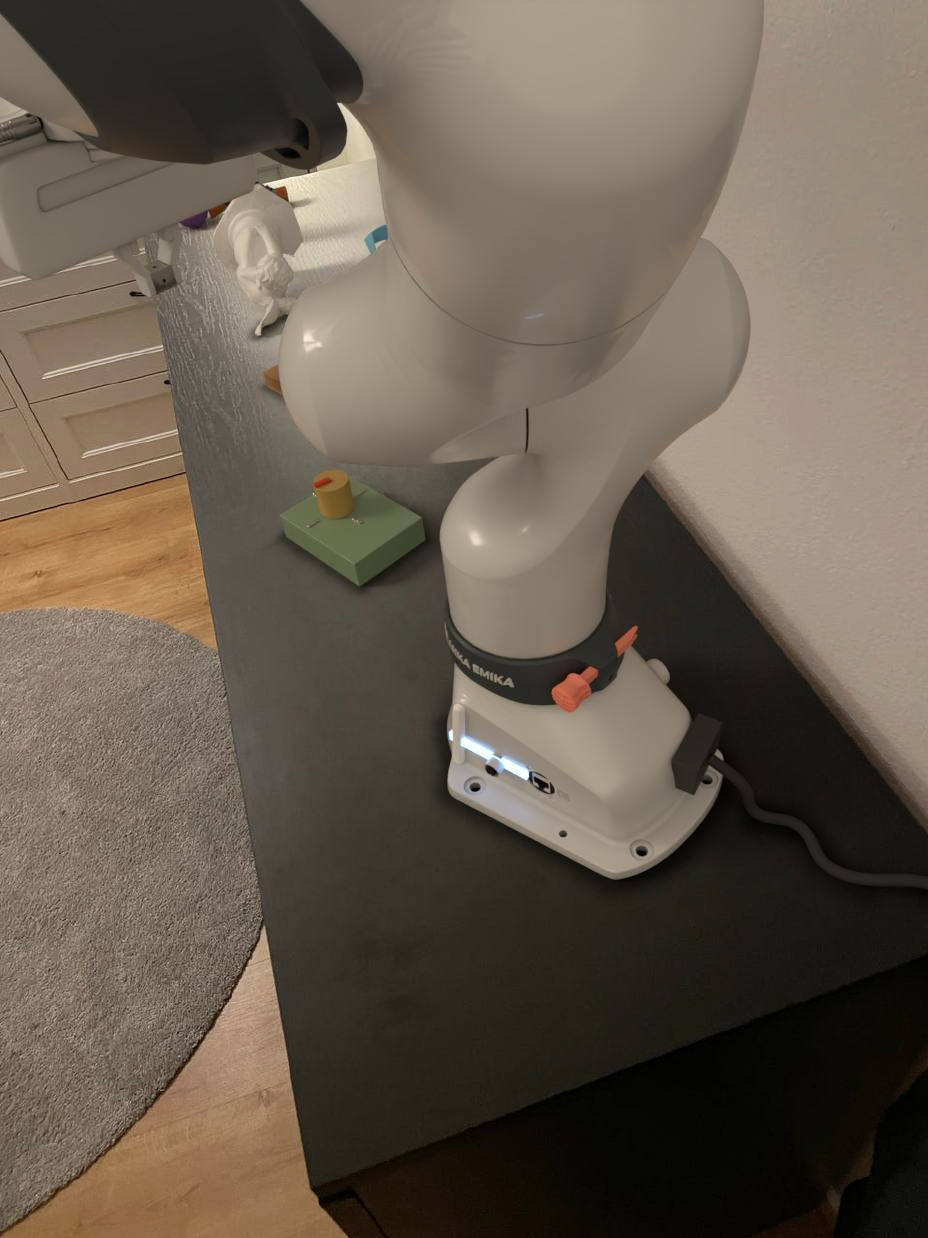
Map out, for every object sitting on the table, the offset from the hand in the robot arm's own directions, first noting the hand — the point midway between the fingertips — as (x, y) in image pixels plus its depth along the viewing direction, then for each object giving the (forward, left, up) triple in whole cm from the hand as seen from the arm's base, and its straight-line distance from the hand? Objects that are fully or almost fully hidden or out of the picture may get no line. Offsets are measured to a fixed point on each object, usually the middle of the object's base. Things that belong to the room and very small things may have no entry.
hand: (162, 288), depth 70 cm
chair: (+27, -45, -29) cm, 60 cm away
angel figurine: (+46, -37, -29) cm, 66 cm away
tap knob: (-3, -9, -26) cm, 28 cm away
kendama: (+80, -53, -29) cm, 100 cm away
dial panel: (-5, -9, -29) cm, 31 cm away
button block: (+22, -26, -29) cm, 45 cm away
